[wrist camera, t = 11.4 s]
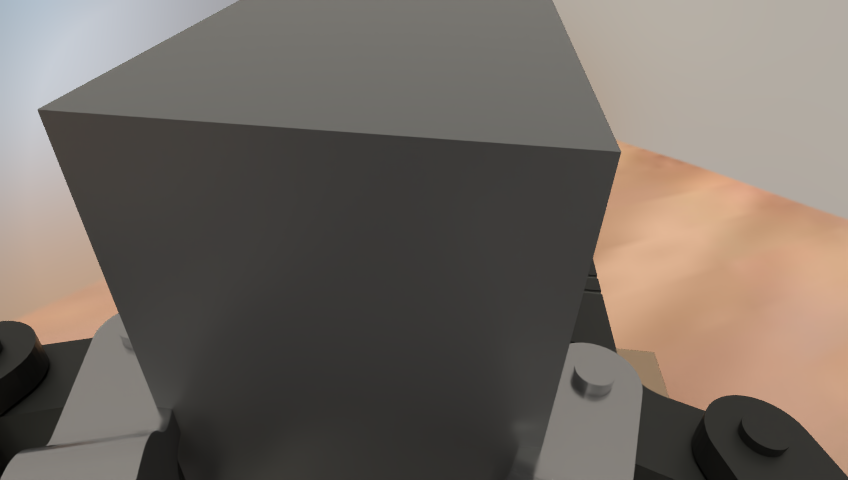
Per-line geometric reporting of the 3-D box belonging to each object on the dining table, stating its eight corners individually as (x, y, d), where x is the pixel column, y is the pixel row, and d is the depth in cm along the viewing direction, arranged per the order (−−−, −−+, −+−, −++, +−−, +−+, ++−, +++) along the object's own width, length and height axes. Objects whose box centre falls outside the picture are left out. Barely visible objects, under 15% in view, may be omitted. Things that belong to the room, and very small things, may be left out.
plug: (480, 451, 15) (551, -2, 8) (476, 694, 11) (621, 151, 4) (325, 434, 15) (271, -17, 9) (259, 664, 11) (38, 109, 4)
